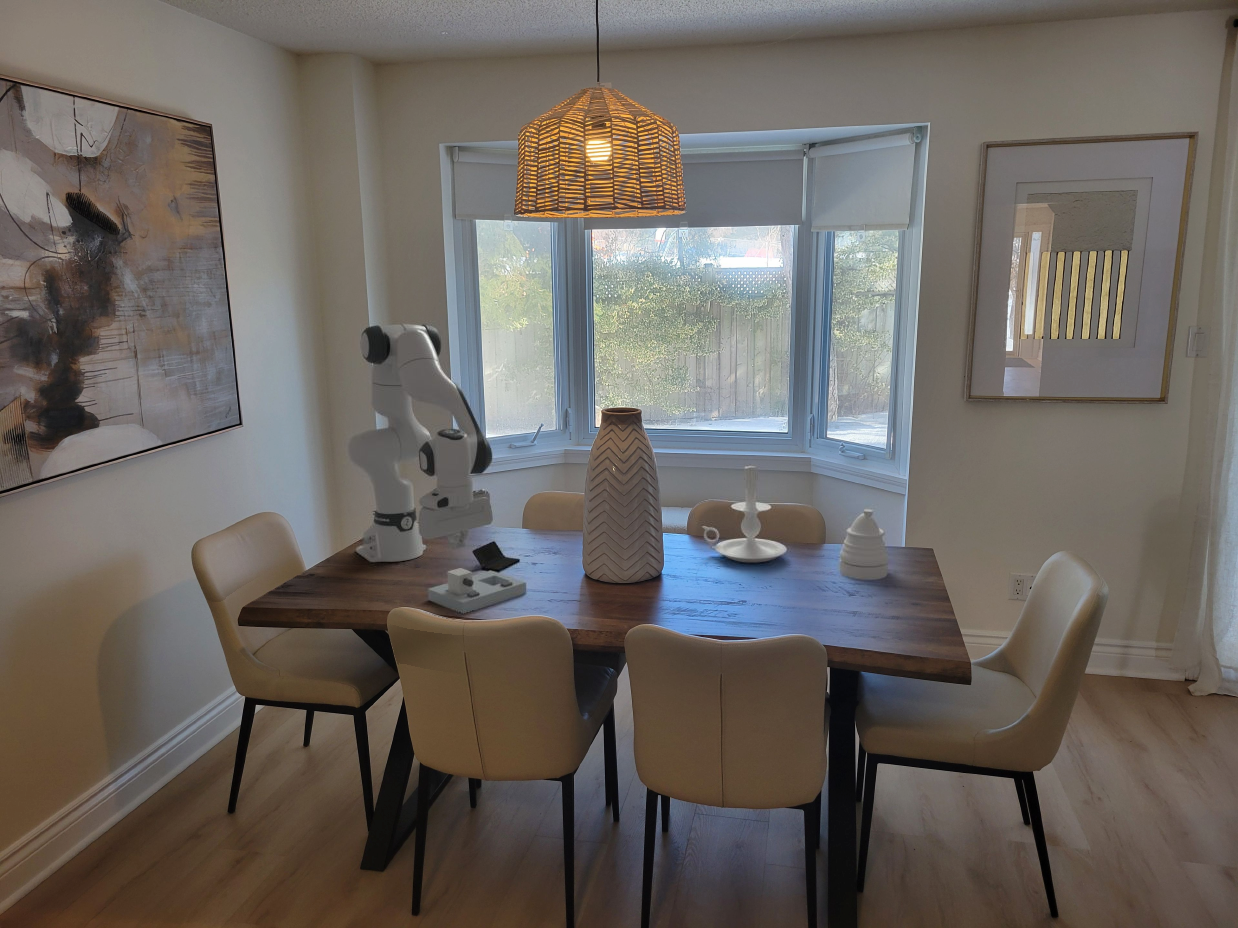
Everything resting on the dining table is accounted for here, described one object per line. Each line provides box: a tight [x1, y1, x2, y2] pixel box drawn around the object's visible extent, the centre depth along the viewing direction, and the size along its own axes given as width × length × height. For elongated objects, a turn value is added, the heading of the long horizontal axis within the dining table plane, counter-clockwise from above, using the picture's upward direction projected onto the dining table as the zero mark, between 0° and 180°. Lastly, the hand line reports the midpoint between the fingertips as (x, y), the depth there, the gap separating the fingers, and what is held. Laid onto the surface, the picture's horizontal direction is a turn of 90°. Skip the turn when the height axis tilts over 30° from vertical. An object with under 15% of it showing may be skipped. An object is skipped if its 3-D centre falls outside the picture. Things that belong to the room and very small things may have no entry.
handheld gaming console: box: [471, 540, 521, 573], centre depth 248 cm, size 12×7×10 cm
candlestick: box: [701, 463, 787, 564], centre depth 248 cm, size 21×25×28 cm
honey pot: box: [838, 508, 889, 581], centre depth 234 cm, size 13×13×18 cm
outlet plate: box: [427, 570, 527, 615], centre depth 222 cm, size 15×20×4 cm
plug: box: [446, 567, 474, 596], centre depth 217 cm, size 7×4×8 cm, turn 46°
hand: (458, 548), depth 216 cm, fingers closed
